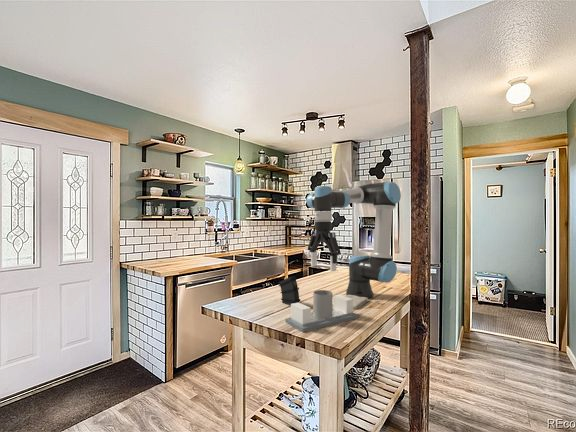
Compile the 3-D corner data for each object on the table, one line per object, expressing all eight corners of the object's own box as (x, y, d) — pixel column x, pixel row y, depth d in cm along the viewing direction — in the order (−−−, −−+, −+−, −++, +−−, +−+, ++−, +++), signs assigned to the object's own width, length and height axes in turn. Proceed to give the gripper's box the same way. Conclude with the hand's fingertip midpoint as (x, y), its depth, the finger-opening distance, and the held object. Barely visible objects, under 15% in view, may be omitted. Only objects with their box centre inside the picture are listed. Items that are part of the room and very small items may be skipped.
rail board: (339, 310, 147) (339, 307, 147) (358, 317, 136) (358, 314, 136) (285, 322, 131) (285, 318, 130) (302, 332, 119) (302, 328, 119)
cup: (321, 310, 139) (321, 289, 139) (336, 314, 133) (336, 292, 133) (309, 315, 133) (309, 292, 133) (324, 319, 127) (324, 296, 127)
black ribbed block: (298, 305, 148) (290, 276, 153) (283, 311, 157) (276, 283, 162) (304, 304, 151) (295, 275, 156) (289, 309, 160) (281, 282, 165)
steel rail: (339, 308, 144) (339, 307, 144) (353, 313, 137) (353, 312, 137) (290, 319, 130) (290, 317, 130) (302, 326, 122) (302, 324, 122)
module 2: (339, 307, 144) (339, 294, 144) (353, 312, 137) (353, 299, 137) (333, 308, 142) (333, 295, 142) (346, 313, 135) (346, 300, 135)
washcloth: (368, 302, 162) (368, 296, 162) (356, 310, 147) (356, 304, 147) (348, 298, 169) (348, 293, 169) (334, 306, 154) (334, 300, 154)
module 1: (298, 316, 132) (298, 302, 132) (310, 322, 124) (310, 307, 124) (290, 317, 130) (290, 303, 130) (302, 324, 122) (302, 309, 122)
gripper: (300, 220, 142) (300, 265, 143) (335, 221, 121) (335, 274, 122) (312, 220, 146) (313, 263, 147) (349, 221, 125) (349, 272, 126)
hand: (323, 268), depth 134 cm, fingers open, 13 cm apart
